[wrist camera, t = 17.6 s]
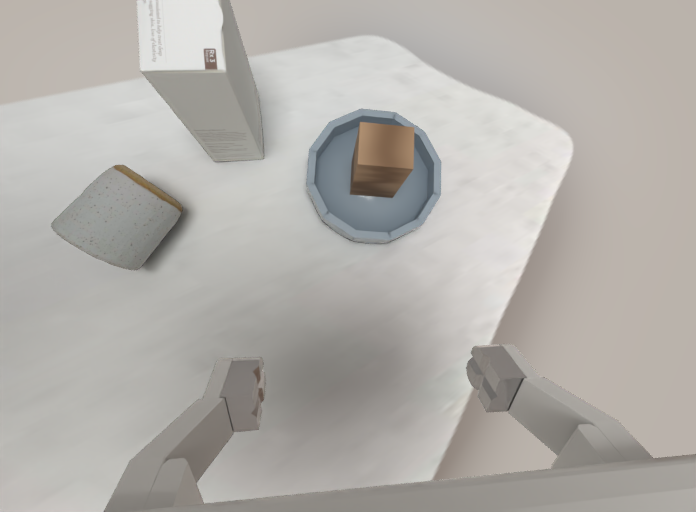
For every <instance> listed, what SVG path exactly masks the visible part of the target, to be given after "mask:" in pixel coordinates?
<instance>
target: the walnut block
mask: <svg viewBox="0 0 696 512" xmlns="http://www.w3.org/2000/svg"><path fill="white" fill-rule="evenodd" d="M413 165H414V127H407V126H397V125H387V124H377V123H367V122H360V124H359V129H358V134H357V138H356V143H355V148H354V153H353V158H352V164H351V182H350V195H361V196H373V197H386V198H393V197H394V195H395V194H396V193H397V191H398V190H399V188H400V187H401V186H402V184H403V183H404V181H405V180H406V179H407V177H408V176H409V174H410V173H411V172H412V170H413Z"/></svg>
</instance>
